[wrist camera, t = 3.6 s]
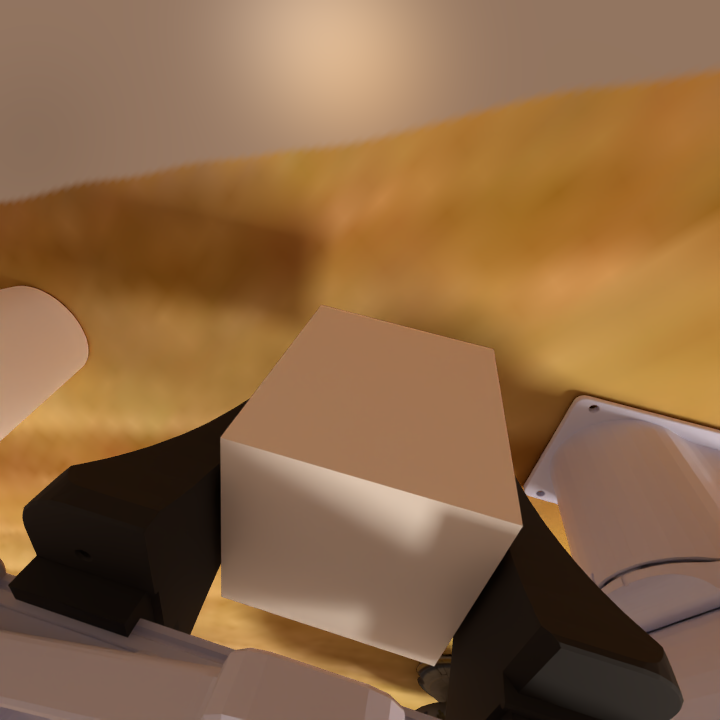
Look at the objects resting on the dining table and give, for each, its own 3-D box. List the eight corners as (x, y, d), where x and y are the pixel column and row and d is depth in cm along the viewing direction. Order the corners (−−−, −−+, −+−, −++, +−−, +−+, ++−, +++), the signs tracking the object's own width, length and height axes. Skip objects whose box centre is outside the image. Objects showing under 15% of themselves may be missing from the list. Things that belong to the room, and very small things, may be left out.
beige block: (493, 349, 13) (523, 526, 7) (442, 472, 17) (434, 666, 11) (321, 304, 14) (220, 437, 8) (303, 433, 17) (221, 596, 11)
